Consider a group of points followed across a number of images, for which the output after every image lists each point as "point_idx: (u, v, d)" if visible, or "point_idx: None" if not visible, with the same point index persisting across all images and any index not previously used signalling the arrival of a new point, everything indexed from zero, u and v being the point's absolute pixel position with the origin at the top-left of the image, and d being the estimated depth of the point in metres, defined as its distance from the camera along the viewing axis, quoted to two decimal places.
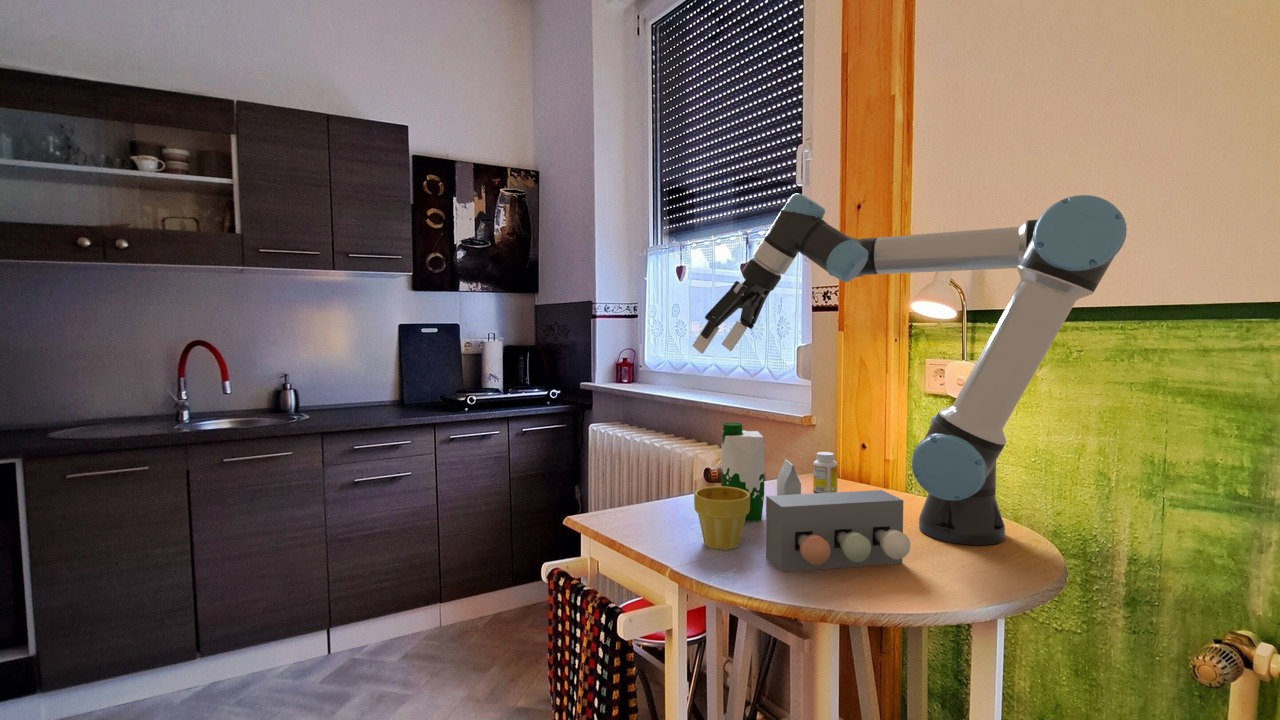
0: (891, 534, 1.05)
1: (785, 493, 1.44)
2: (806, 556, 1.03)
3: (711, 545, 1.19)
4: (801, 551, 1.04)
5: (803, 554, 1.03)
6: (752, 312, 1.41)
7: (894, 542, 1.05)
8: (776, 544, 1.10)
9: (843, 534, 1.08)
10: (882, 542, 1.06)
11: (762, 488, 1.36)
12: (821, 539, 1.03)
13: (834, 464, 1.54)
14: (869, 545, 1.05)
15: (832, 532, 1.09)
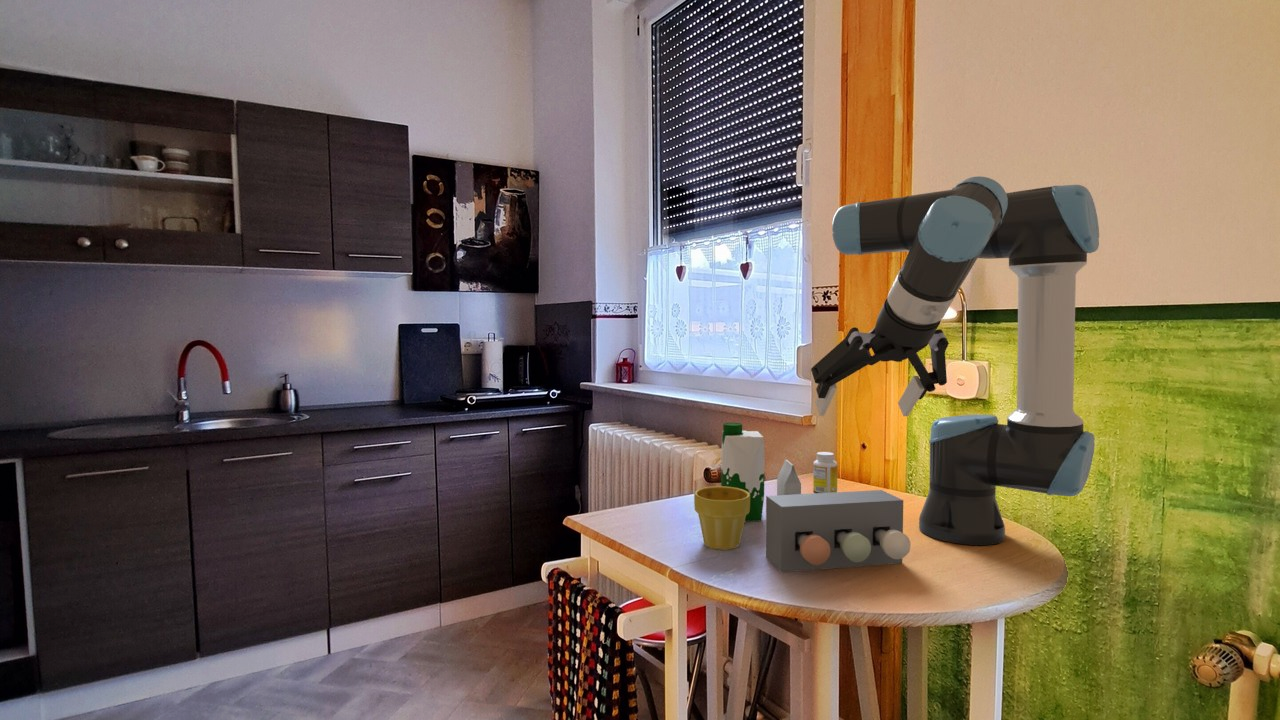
0: (891, 534, 1.05)
1: (785, 493, 1.44)
2: (806, 556, 1.03)
3: (711, 545, 1.19)
4: (801, 551, 1.04)
5: (803, 554, 1.03)
6: None
7: (894, 542, 1.05)
8: (776, 544, 1.10)
9: (843, 534, 1.08)
10: (882, 542, 1.06)
11: (762, 488, 1.36)
12: (821, 539, 1.03)
13: (834, 464, 1.54)
14: (869, 545, 1.05)
15: (832, 532, 1.09)
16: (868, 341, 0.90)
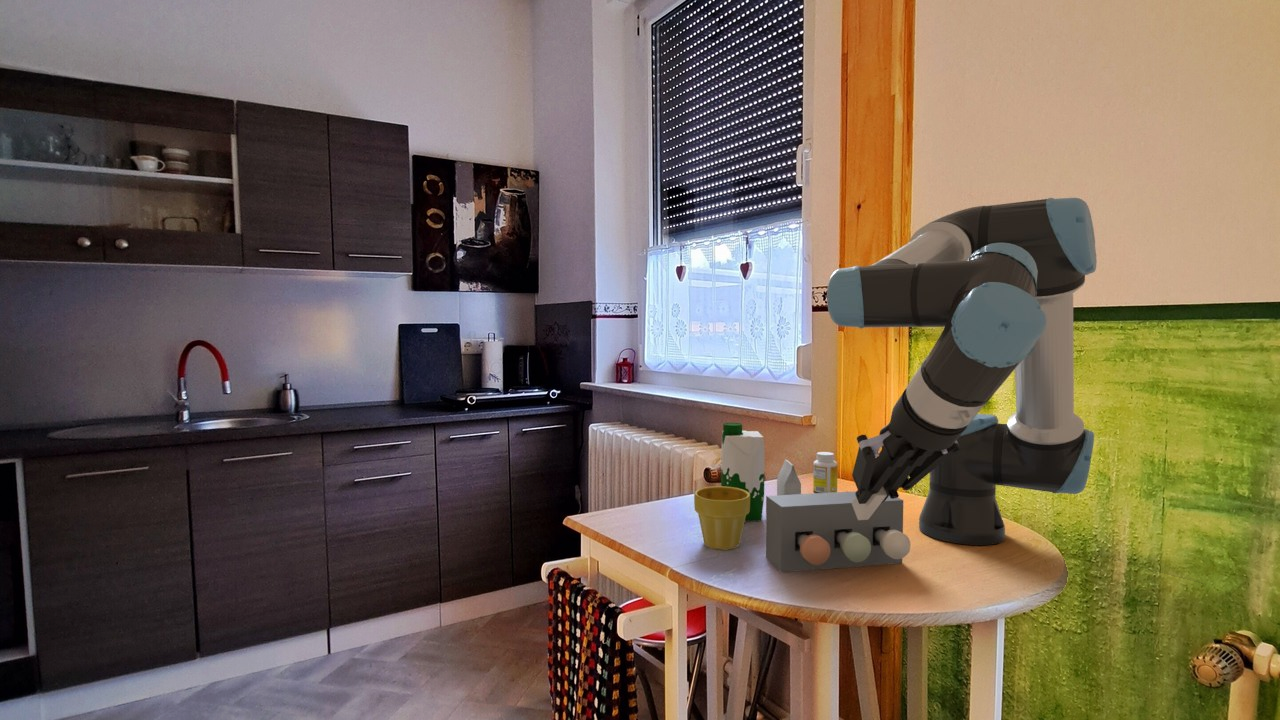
0: (891, 534, 1.05)
1: (785, 493, 1.43)
2: (806, 556, 1.03)
3: (711, 545, 1.19)
4: (801, 551, 1.04)
5: (803, 554, 1.03)
6: None
7: (894, 542, 1.05)
8: (776, 544, 1.10)
9: (843, 534, 1.08)
10: (882, 542, 1.06)
11: (762, 488, 1.36)
12: (821, 539, 1.03)
13: (834, 464, 1.54)
14: (869, 545, 1.05)
15: (832, 532, 1.09)
16: (882, 444, 0.76)
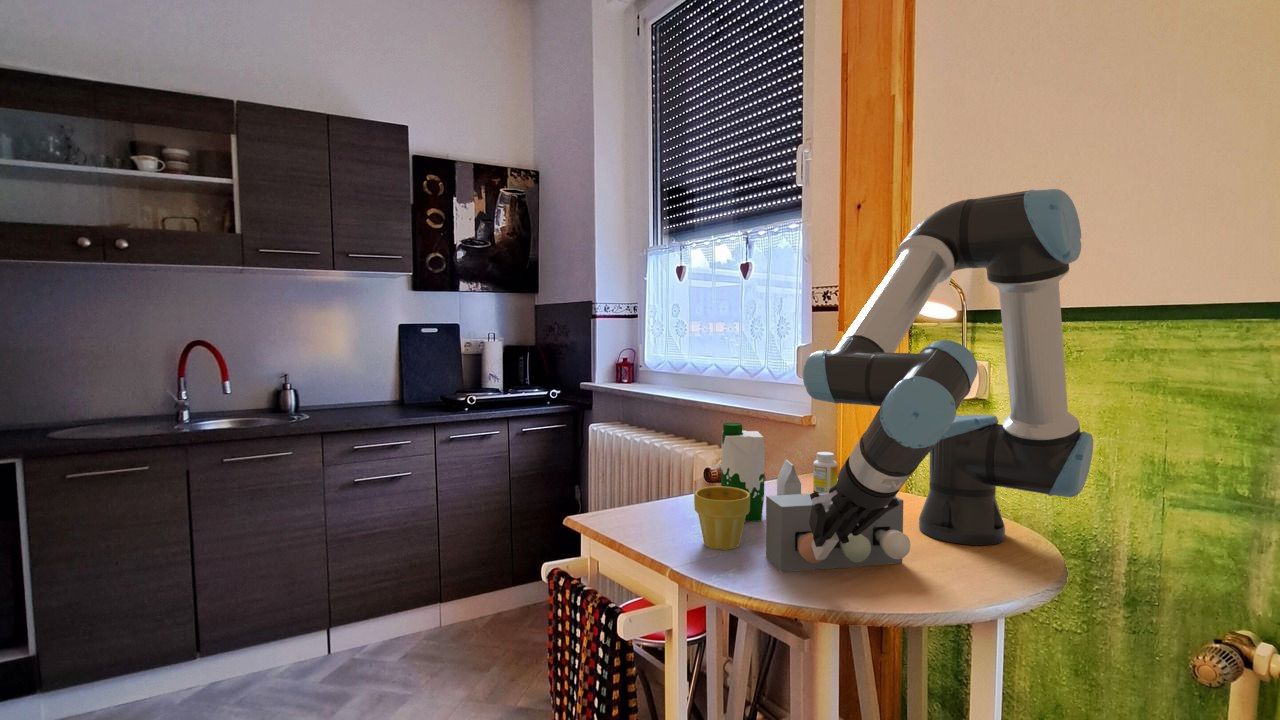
0: (891, 534, 1.05)
1: (785, 493, 1.44)
2: (804, 554, 1.04)
3: (711, 545, 1.19)
4: (799, 549, 1.05)
5: (801, 552, 1.04)
6: None
7: (894, 542, 1.05)
8: (776, 544, 1.10)
9: None
10: (882, 542, 1.06)
11: (762, 488, 1.36)
12: None
13: (834, 464, 1.54)
14: (869, 545, 1.05)
15: None
16: (831, 501, 0.89)
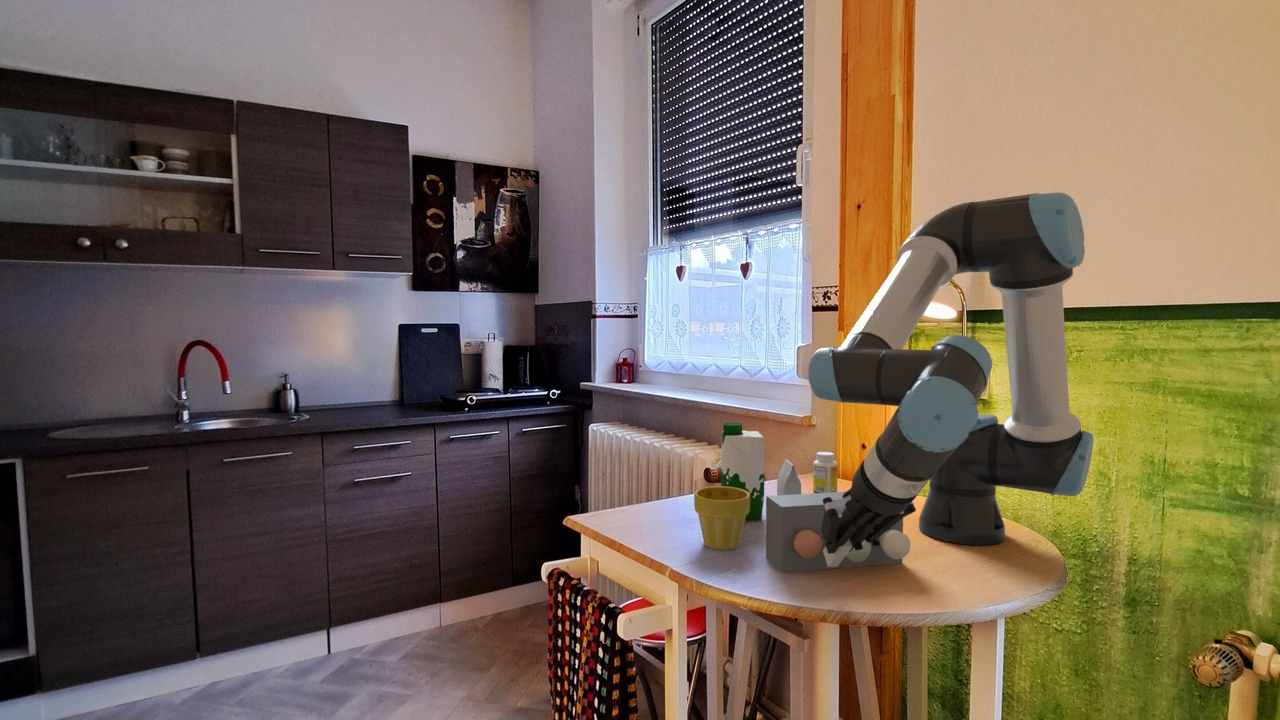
0: (891, 534, 1.05)
1: (785, 493, 1.44)
2: (798, 550, 1.06)
3: (711, 545, 1.19)
4: (794, 545, 1.07)
5: (796, 548, 1.06)
6: None
7: (894, 542, 1.05)
8: (776, 544, 1.10)
9: None
10: (882, 542, 1.06)
11: (762, 488, 1.36)
12: (813, 533, 1.06)
13: (834, 464, 1.54)
14: (869, 545, 1.05)
15: None
16: (844, 506, 0.86)
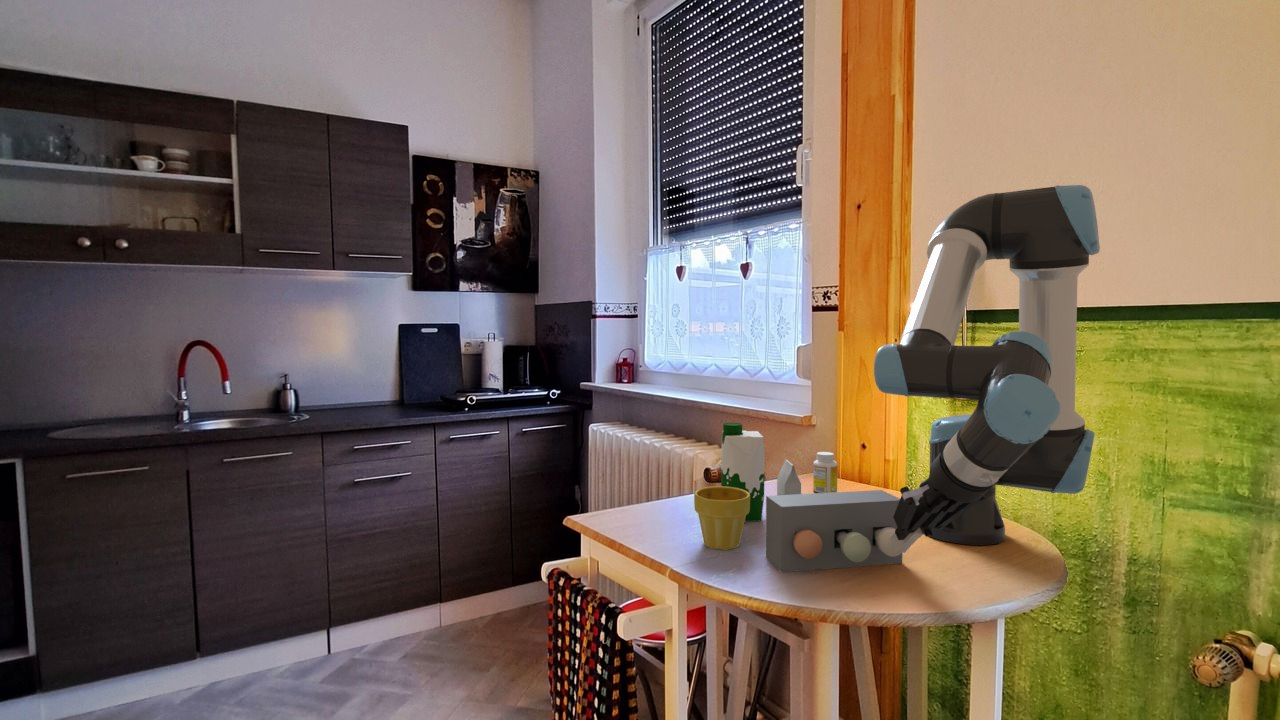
0: (887, 532, 1.07)
1: (785, 493, 1.43)
2: (798, 550, 1.06)
3: (711, 545, 1.19)
4: (794, 545, 1.07)
5: (796, 548, 1.06)
6: None
7: (890, 539, 1.07)
8: (776, 544, 1.10)
9: (843, 534, 1.08)
10: (878, 539, 1.07)
11: (762, 488, 1.36)
12: (813, 533, 1.06)
13: (834, 464, 1.54)
14: (869, 545, 1.05)
15: (832, 532, 1.09)
16: (921, 495, 0.92)
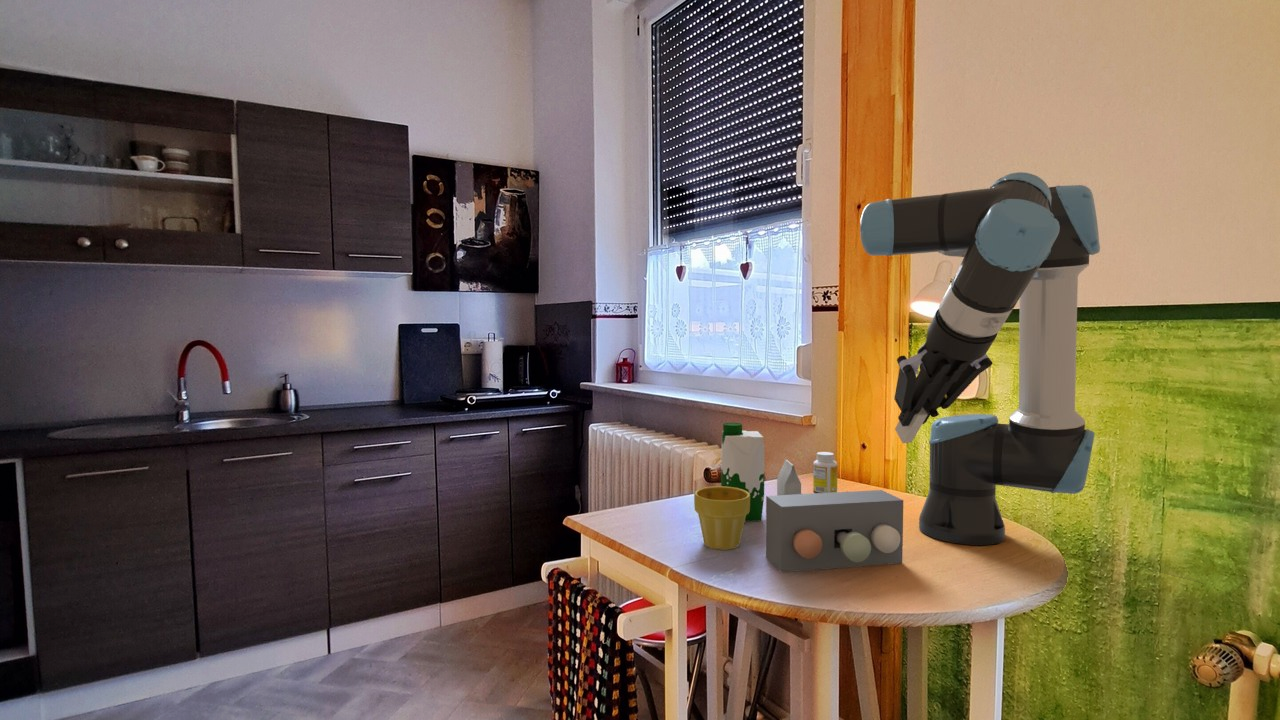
0: (881, 528, 1.08)
1: (785, 493, 1.43)
2: (798, 550, 1.06)
3: (711, 545, 1.19)
4: (794, 545, 1.07)
5: (796, 548, 1.06)
6: None
7: (884, 536, 1.08)
8: (776, 544, 1.10)
9: (843, 534, 1.08)
10: (873, 536, 1.09)
11: (762, 488, 1.36)
12: (813, 533, 1.06)
13: (834, 464, 1.54)
14: (869, 545, 1.05)
15: (832, 532, 1.09)
16: (920, 362, 0.85)
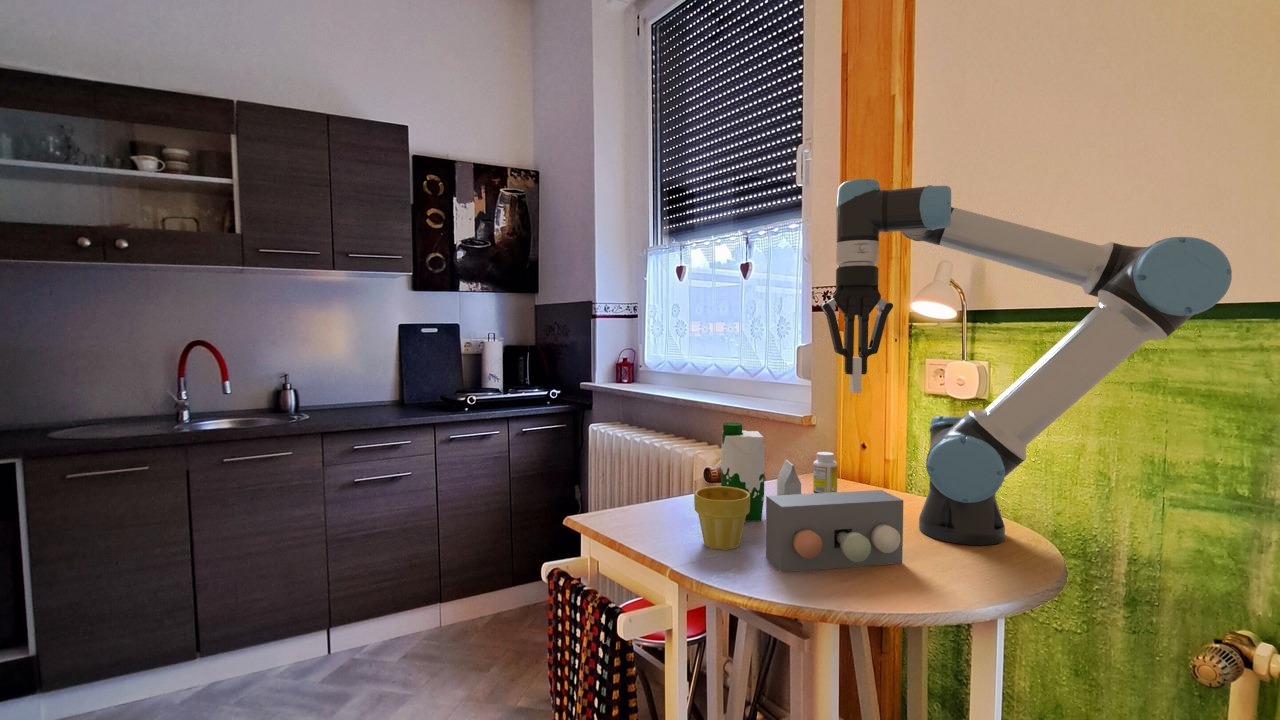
0: (881, 528, 1.08)
1: (785, 493, 1.44)
2: (798, 550, 1.06)
3: (711, 545, 1.19)
4: (794, 545, 1.07)
5: (796, 548, 1.06)
6: None
7: (884, 536, 1.08)
8: (776, 544, 1.10)
9: (843, 534, 1.08)
10: (873, 536, 1.09)
11: (762, 488, 1.36)
12: (813, 533, 1.06)
13: (834, 464, 1.54)
14: (869, 545, 1.05)
15: (832, 532, 1.09)
16: (835, 302, 1.21)
